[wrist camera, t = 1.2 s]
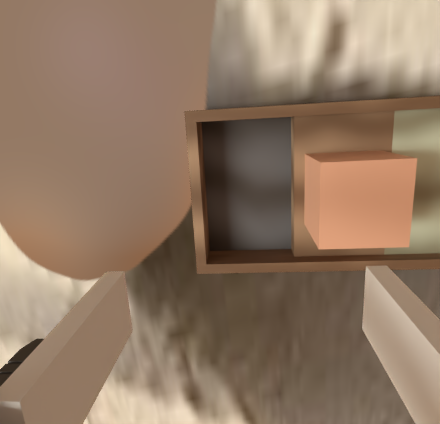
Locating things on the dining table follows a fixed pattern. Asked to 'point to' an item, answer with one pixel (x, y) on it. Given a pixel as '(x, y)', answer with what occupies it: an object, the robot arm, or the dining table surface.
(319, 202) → the block
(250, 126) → the trap box
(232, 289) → the dining table surface
